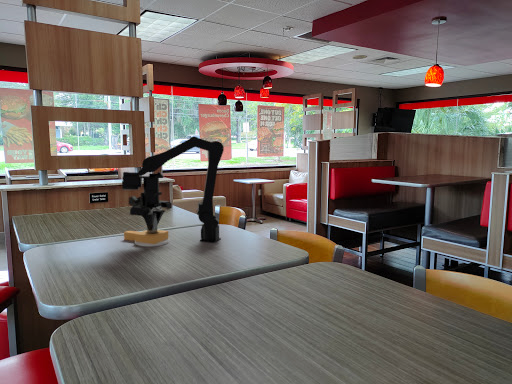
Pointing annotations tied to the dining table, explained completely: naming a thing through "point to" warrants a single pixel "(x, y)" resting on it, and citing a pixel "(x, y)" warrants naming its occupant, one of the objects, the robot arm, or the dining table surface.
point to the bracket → (147, 238)
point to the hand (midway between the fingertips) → (152, 229)
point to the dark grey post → (154, 228)
